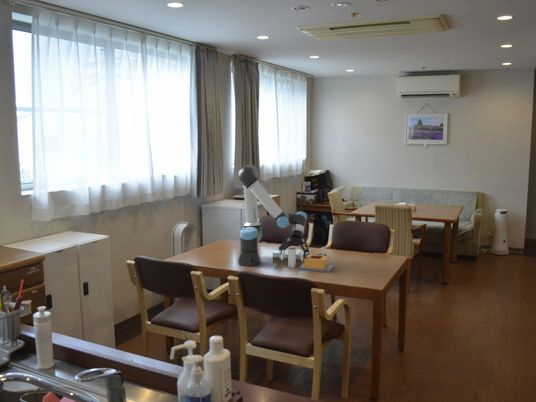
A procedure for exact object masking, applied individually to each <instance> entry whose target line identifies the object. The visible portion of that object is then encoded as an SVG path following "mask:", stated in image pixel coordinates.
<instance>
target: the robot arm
mask: <svg viewBox="0 0 536 402" xmlns="http://www.w3.org/2000/svg"><path fill="white" fill-rule="evenodd" d="M259 176H260V171H259V169H258V168H257V167H256V166H255V165H253V164H247V165H244V166H242V167H241V168H239V170H238V172H237V177H238V180H239V181H240V185H241V187H242V188H243V195H244V214H245V223H244V224H243V228H241V230H240V231H239V238H240V240H239V241H240V242H239V245H240V246H239V247H240V253H239V256H238V259H237V261H238V265H240V266H243V267H255V266H259V265H260V264H261V263H262V260H261V257H260V254H259V242H260V241H261V240H262V238H263V230H262V227H261V225H262V223H261V222H259V213H258V212H259V211H258V210H259V209H258V201H259V203H260V204H261V205H262V206H263V207H264V209H265V210H266V211H267V212H268V214H270V216H271V217H272V218H273V220H274V221H275V222H276V225H277V226H278V227H279V228H280V229H285V228H288V226H289V225H292V226H293V227H292V231H291V235H290V238H289V237H287V236H286V237H285V239H284V241H283V242H282V243H281V244H280V245H279V247H278V249H279V251H280V253H279V254H280V260H281V261H284V256H285V251H286V250H288V249H289V248H291V246H299V247H300V248H301V249H302V253H301V258H300V261H301V263H304V258H305V257H306V256H307V253H310V250H309V247H308V244H307V239H306V237H305V238H303V237H304V233H305V227H306V223H307V219H308V215H307V213H306V212H304V211H302V210H301V211H297V212H296V213H290V212H285V211H283V210H282V209H281V207H280V206H279V205H278V203H276V202H275V200H274V199H273V198H272V197H271V195H270V194H269V193H268V192H267V191H266V190H265V188H264V187H263V186H262V185H261V184H260V180H259ZM302 243H304V245H305V247H304V246H303V244H302Z"/></svg>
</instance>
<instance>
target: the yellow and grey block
mask: <svg viewBox="0 0 536 402" xmlns="http://www.w3.org/2000/svg"><path fill="white" fill-rule="evenodd" d="M297 268H298V271H307V272H317V273H318V272H319V273H331V271H332V270H333V269H334V268H335V265H333V264H329V256H328V255H321V254H306V256H305V257H304V259H303V262H302V264H300V266H298V267H297Z"/></svg>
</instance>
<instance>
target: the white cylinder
mask: <svg viewBox="0 0 536 402" xmlns="http://www.w3.org/2000/svg"><path fill="white" fill-rule="evenodd" d="M296 266H297V248H296V247H288V248H287V268H289V269H290V268H291V269H292V268H293V269H294V268H296Z"/></svg>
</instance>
